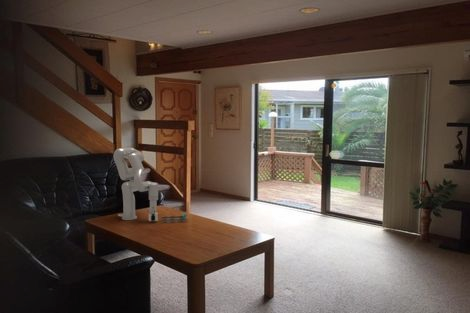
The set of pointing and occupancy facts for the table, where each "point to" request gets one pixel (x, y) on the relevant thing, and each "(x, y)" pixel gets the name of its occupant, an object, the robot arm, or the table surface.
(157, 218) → the cream block
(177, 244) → the table surface
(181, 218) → the channel board
